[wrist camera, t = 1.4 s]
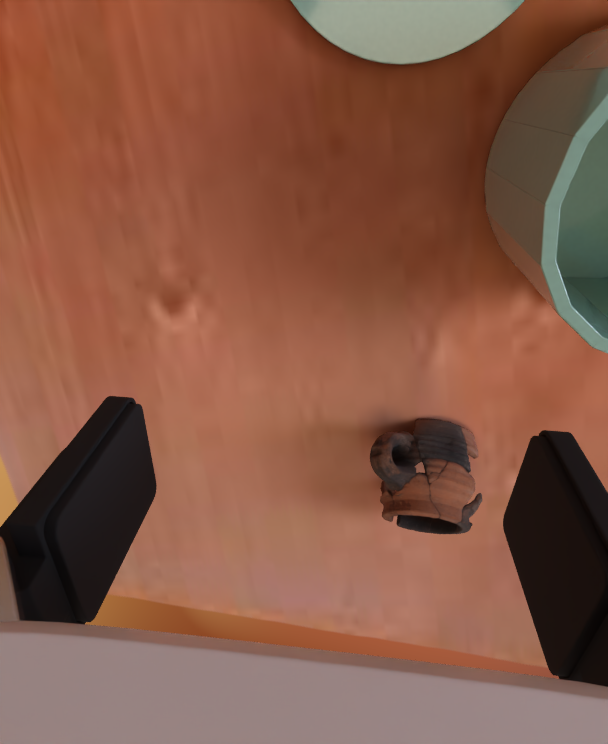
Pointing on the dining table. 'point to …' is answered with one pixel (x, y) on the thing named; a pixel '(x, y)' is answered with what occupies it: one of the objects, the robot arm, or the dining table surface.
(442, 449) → the pottery mug
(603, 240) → the pot
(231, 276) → the dining table surface
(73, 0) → the dining table surface
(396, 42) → the lid
